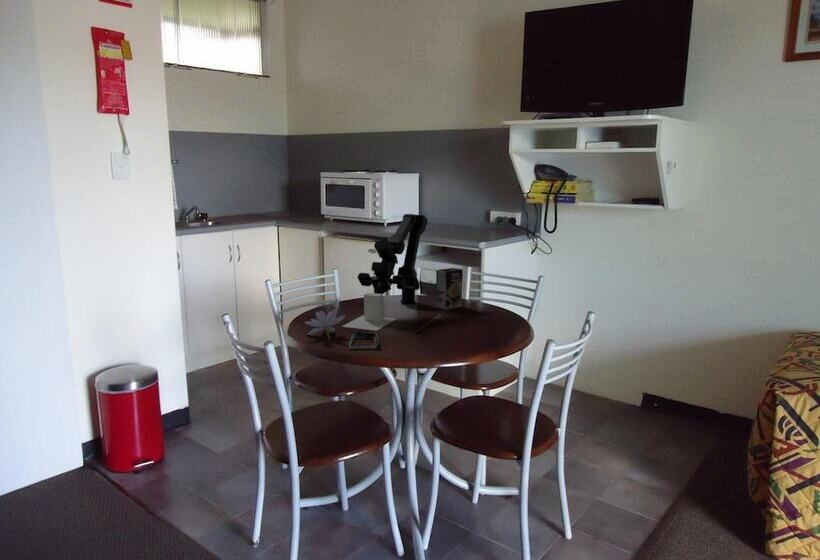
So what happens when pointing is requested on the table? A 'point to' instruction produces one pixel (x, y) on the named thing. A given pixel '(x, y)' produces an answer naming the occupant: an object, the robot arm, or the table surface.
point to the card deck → (373, 307)
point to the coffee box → (449, 288)
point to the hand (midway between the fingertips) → (375, 299)
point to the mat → (368, 323)
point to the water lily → (324, 322)
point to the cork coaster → (437, 316)
